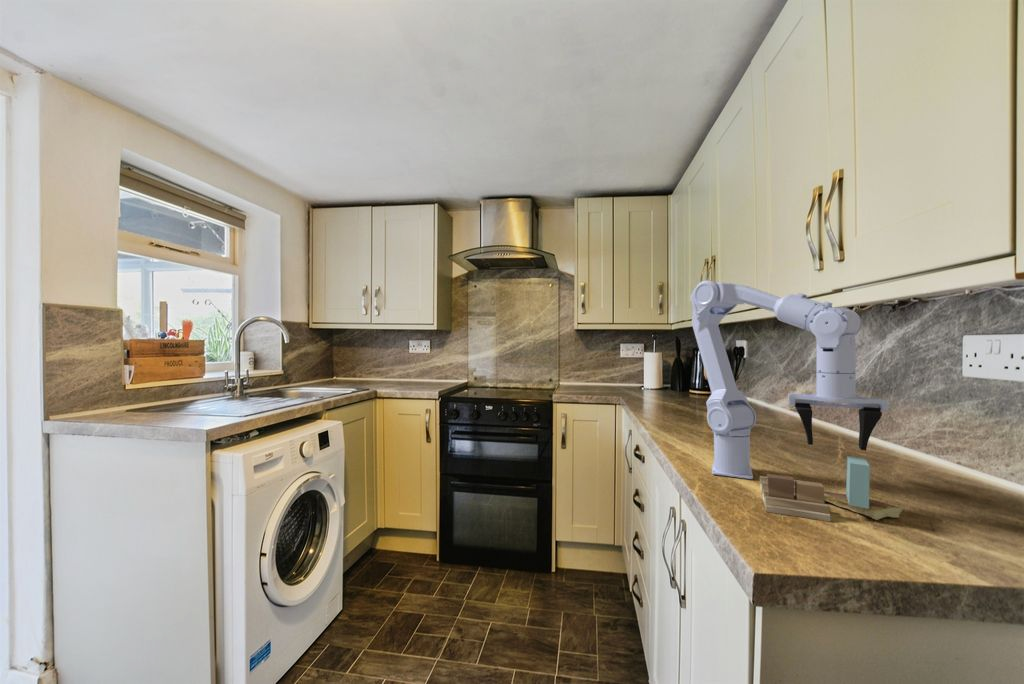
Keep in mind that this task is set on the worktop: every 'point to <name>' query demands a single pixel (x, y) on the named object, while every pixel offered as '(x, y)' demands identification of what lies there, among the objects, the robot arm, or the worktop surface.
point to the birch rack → (793, 505)
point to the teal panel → (857, 482)
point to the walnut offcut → (780, 486)
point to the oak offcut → (809, 492)
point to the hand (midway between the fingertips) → (835, 446)
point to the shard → (874, 511)
